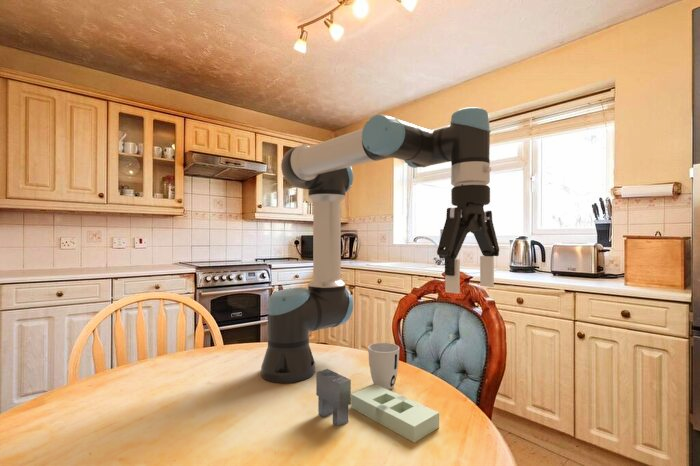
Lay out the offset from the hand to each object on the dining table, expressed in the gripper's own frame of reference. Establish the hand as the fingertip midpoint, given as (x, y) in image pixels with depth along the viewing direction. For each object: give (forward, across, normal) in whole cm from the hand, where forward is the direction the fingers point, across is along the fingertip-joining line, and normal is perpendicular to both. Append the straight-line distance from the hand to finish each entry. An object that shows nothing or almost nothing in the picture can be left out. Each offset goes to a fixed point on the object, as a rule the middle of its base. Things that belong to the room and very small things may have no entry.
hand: (470, 289), depth 71 cm
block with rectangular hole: (+28, -9, +13) cm, 32 cm away
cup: (+28, +1, +25) cm, 38 cm away
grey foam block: (+28, -19, +21) cm, 40 cm away
